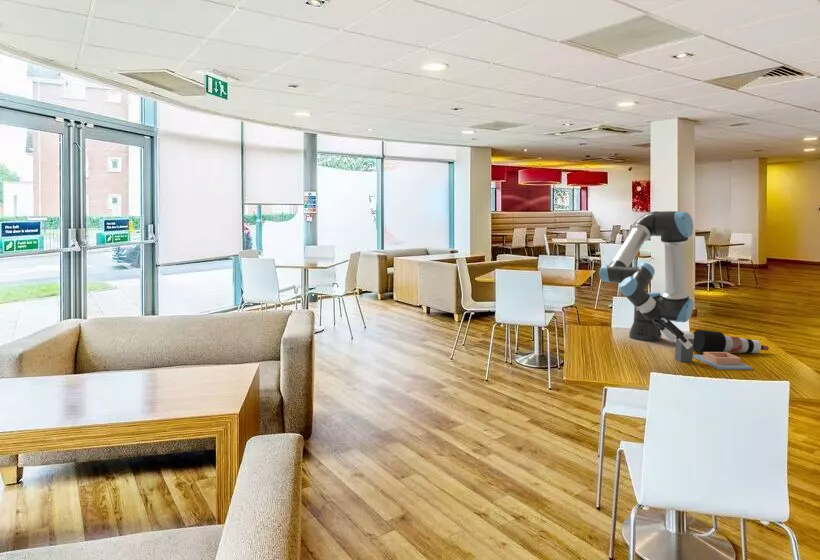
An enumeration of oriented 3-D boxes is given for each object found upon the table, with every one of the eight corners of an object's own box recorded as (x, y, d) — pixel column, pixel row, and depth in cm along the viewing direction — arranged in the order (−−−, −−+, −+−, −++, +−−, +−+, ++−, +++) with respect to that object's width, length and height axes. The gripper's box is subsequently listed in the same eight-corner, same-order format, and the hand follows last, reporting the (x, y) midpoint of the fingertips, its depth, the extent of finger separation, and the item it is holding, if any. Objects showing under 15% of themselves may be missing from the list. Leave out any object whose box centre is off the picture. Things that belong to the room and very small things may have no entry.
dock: (692, 356, 242) (692, 349, 242) (723, 357, 242) (724, 349, 242) (718, 369, 222) (718, 361, 222) (752, 369, 222) (753, 361, 222)
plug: (674, 358, 238) (676, 331, 237) (686, 358, 238) (688, 331, 237) (680, 361, 233) (682, 334, 232) (692, 362, 234) (694, 334, 232)
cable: (767, 363, 250) (779, 346, 244) (698, 356, 246) (707, 339, 241) (755, 349, 258) (766, 332, 252) (688, 342, 255) (697, 325, 249)
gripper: (630, 309, 245) (661, 342, 247) (655, 319, 220) (690, 356, 222) (642, 297, 245) (673, 331, 247) (669, 306, 220) (704, 343, 222)
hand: (681, 343), depth 234 cm, fingers open, 13 cm apart
